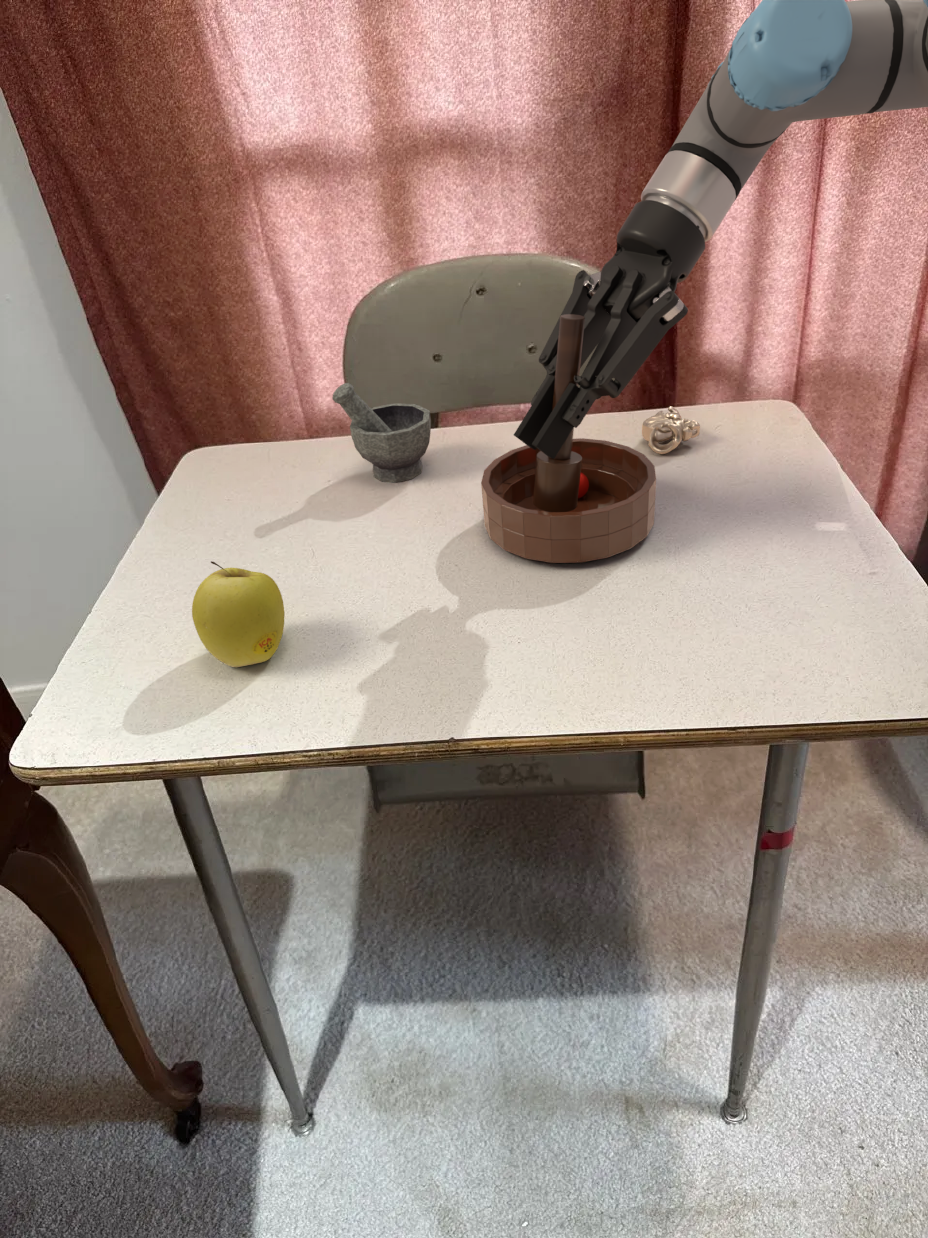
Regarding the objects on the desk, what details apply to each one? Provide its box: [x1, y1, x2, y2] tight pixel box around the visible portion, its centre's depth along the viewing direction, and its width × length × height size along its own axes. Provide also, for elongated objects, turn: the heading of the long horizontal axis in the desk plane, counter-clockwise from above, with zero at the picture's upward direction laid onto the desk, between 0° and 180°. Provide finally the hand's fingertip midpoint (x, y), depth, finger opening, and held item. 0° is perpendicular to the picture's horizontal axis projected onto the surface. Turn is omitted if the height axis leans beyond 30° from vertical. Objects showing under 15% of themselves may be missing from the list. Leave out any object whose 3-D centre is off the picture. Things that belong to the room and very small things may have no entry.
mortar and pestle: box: [332, 382, 432, 483], centre depth 100 cm, size 11×9×12 cm
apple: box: [191, 561, 286, 668], centre depth 73 cm, size 8×8×10 cm
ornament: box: [641, 406, 701, 455], centre depth 102 cm, size 8×7×4 cm
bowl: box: [480, 437, 657, 564], centre depth 87 cm, size 18×18×6 cm
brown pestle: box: [533, 314, 585, 512], centre depth 79 cm, size 4×4×18 cm
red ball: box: [578, 473, 589, 498], centre depth 92 cm, size 3×3×3 cm
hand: (533, 446), depth 79 cm, fingers closed on brown pestle, 2 cm apart
